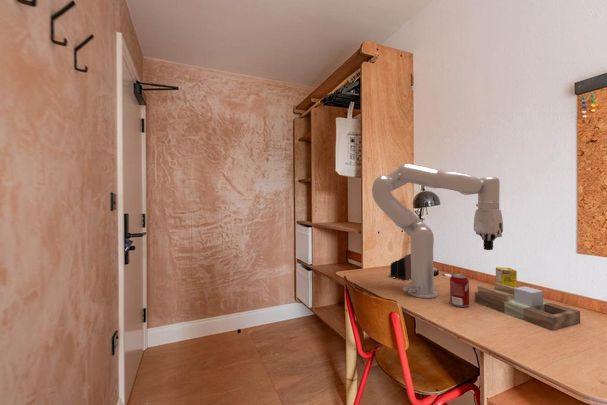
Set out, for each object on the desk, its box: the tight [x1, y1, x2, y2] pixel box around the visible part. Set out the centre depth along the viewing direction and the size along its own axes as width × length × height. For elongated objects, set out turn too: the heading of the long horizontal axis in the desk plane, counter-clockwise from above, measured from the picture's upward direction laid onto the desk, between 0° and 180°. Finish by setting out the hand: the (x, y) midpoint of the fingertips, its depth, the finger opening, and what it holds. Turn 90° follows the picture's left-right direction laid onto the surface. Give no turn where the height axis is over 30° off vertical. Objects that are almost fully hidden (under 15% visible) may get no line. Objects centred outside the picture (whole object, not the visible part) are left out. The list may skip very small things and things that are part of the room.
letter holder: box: [390, 253, 411, 281], centre depth 154 cm, size 10×20×14 cm, turn 126°
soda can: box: [449, 273, 470, 308], centre depth 110 cm, size 7×7×12 cm
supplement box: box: [495, 266, 518, 288], centre depth 124 cm, size 6×6×11 cm
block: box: [514, 285, 544, 307], centre depth 100 cm, size 6×6×5 cm
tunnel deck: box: [474, 282, 581, 331], centre depth 103 cm, size 15×27×6 cm, turn 20°
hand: (488, 249), depth 115 cm, fingers closed
